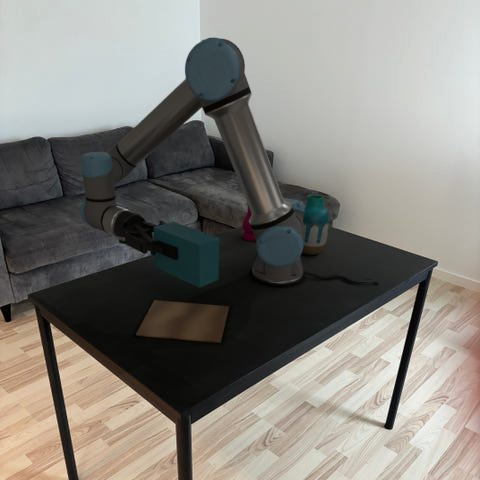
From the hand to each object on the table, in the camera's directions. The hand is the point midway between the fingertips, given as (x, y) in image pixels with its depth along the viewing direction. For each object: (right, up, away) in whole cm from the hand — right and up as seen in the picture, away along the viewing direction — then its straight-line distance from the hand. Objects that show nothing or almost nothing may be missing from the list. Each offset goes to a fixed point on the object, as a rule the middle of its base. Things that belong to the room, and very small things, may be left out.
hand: (187, 250), depth 108 cm
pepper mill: (+16, +13, +63) cm, 66 cm away
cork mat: (-2, -16, +11) cm, 19 cm away
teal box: (-2, -4, +4) cm, 6 cm away
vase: (+35, +7, +53) cm, 64 cm away
